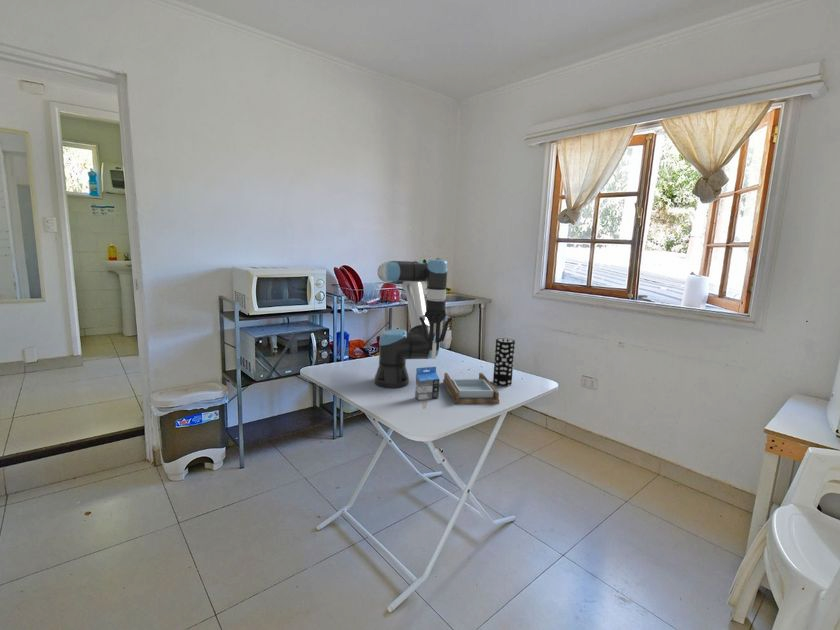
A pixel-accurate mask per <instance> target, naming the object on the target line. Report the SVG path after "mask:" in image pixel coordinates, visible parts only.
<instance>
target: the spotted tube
mask: <svg viewBox="0 0 840 630" xmlns="http://www.w3.org/2000/svg"><path fill="white" fill-rule="evenodd" d="M515 345H516V340H515V339H512V338H503V337H502V338H495V349H494V350H495V351H494V363H493V376H492V377H493V378H492V383H493V384H494V385H496V386H499V387H510V386H512V385H511V384H513V383H512V382H513V371H514V361H515V360H514V358H515V357H514V356H515Z"/></svg>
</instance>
